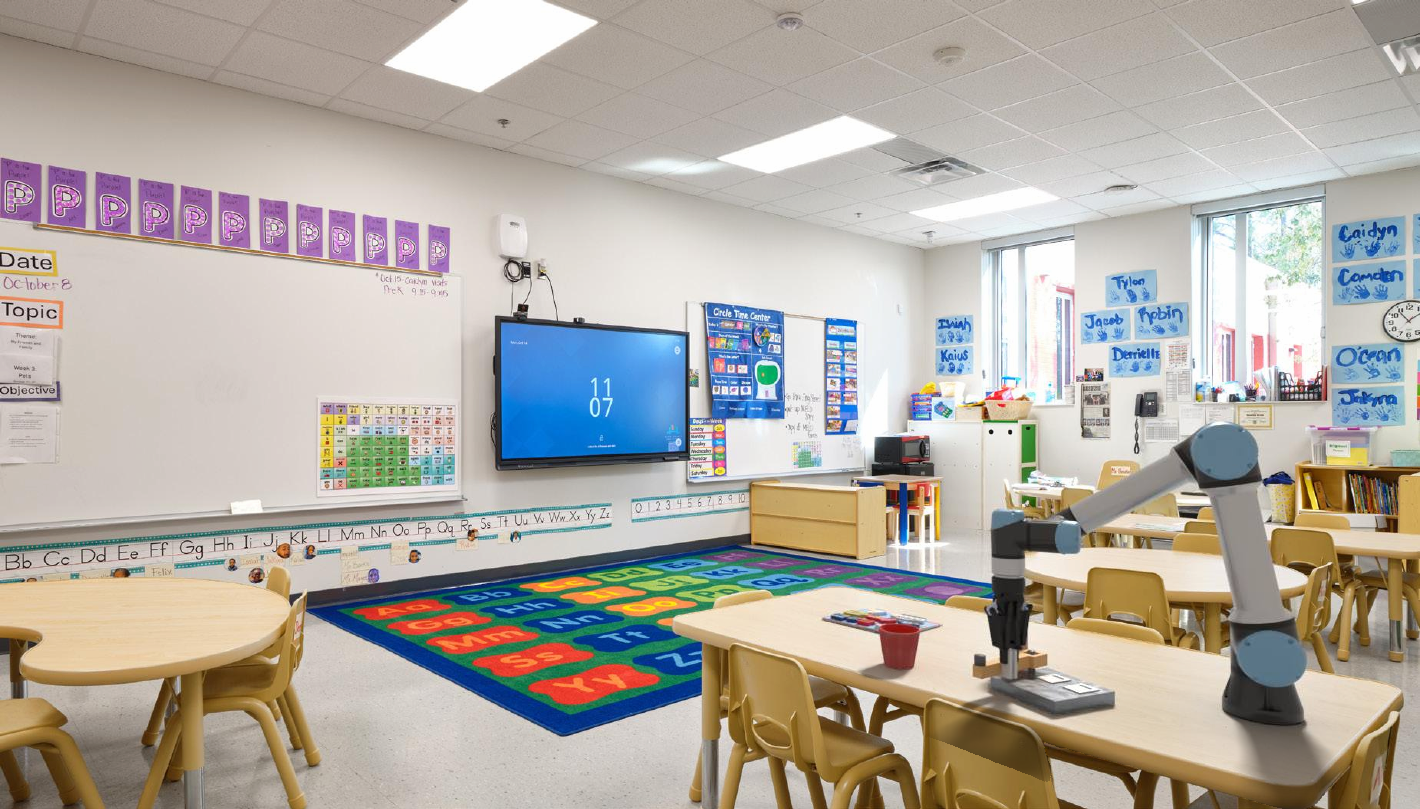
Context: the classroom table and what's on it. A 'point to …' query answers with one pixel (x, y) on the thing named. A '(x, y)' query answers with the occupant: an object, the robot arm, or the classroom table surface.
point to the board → (1053, 690)
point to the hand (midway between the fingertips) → (1009, 677)
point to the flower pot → (899, 645)
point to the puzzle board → (878, 620)
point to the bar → (993, 667)
